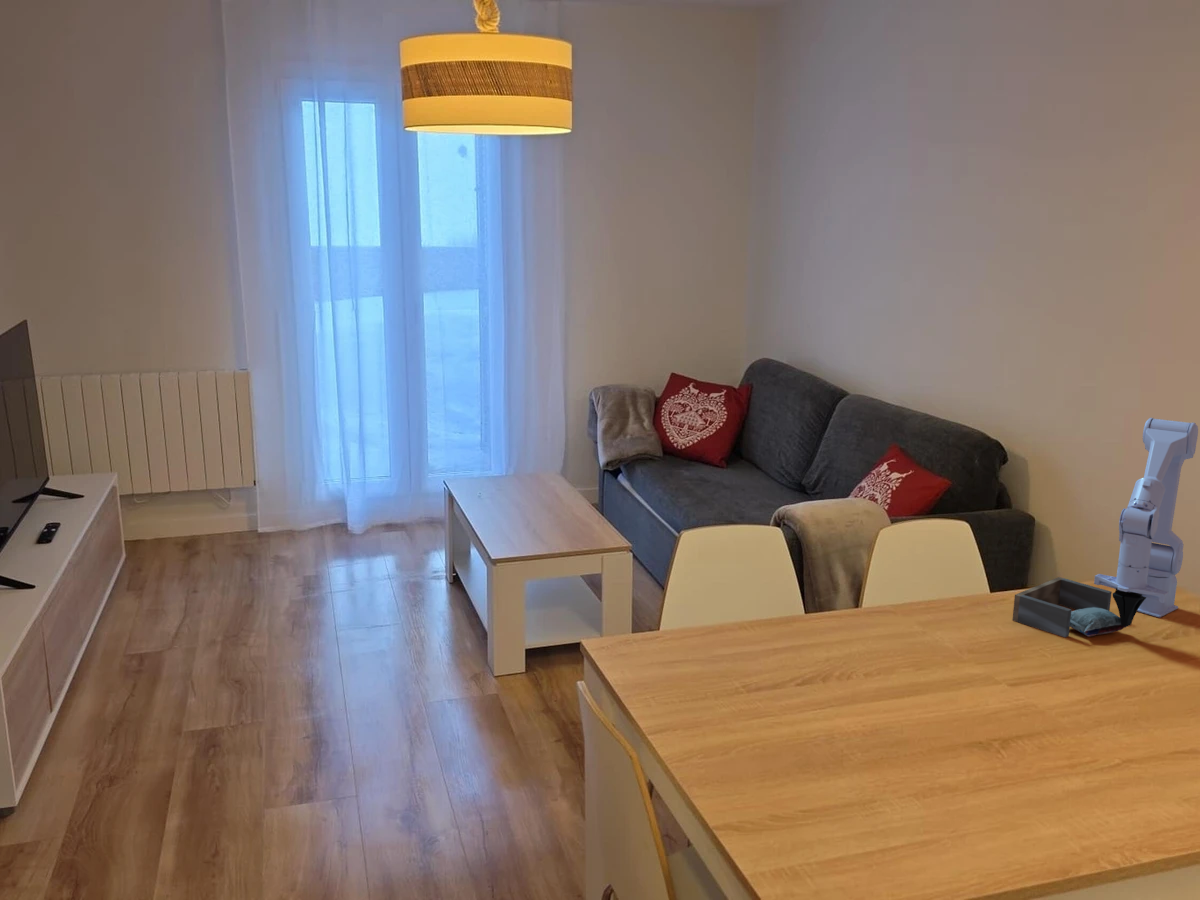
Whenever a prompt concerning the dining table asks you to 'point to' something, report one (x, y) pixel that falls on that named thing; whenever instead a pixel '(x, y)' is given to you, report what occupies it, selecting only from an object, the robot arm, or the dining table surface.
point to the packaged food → (1095, 621)
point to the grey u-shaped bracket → (1043, 601)
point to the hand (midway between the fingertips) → (1126, 624)
